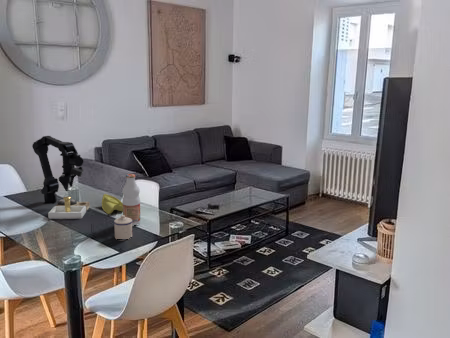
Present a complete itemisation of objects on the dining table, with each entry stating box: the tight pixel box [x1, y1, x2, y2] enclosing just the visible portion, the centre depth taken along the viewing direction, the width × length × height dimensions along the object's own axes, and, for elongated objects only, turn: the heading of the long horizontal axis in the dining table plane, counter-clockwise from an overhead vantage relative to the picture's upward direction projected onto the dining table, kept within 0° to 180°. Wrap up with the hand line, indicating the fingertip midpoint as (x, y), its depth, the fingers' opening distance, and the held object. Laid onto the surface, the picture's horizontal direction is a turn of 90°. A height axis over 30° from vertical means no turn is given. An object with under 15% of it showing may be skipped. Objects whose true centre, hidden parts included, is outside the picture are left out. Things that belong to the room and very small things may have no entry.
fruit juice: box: [122, 173, 141, 227], centre depth 222 cm, size 9×9×28 cm
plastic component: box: [101, 193, 123, 215], centre depth 248 cm, size 20×7×10 cm
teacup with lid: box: [113, 214, 133, 240], centre depth 206 cm, size 12×9×12 cm
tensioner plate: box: [55, 198, 91, 212], centre depth 246 cm, size 18×8×5 cm, turn 97°
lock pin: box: [62, 195, 72, 212], centre depth 234 cm, size 4×4×10 cm
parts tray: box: [47, 205, 87, 220], centre depth 235 cm, size 18×12×4 cm, turn 97°
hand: (69, 188), depth 246 cm, fingers open, 9 cm apart
